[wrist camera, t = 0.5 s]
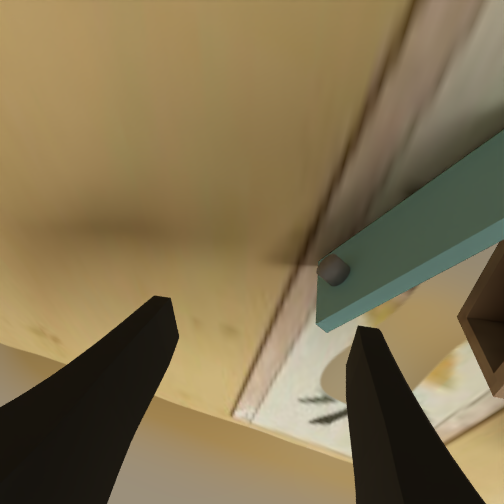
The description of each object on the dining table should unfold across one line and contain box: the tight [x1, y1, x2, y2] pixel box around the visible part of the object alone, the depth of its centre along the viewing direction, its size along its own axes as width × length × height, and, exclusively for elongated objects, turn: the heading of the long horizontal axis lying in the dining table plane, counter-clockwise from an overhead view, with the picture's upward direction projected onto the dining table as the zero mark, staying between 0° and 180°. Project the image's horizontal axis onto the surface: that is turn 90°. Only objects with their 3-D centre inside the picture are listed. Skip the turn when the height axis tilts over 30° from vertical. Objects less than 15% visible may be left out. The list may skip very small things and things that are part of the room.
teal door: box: [316, 130, 504, 333], centre depth 13 cm, size 2×13×5 cm, turn 139°
